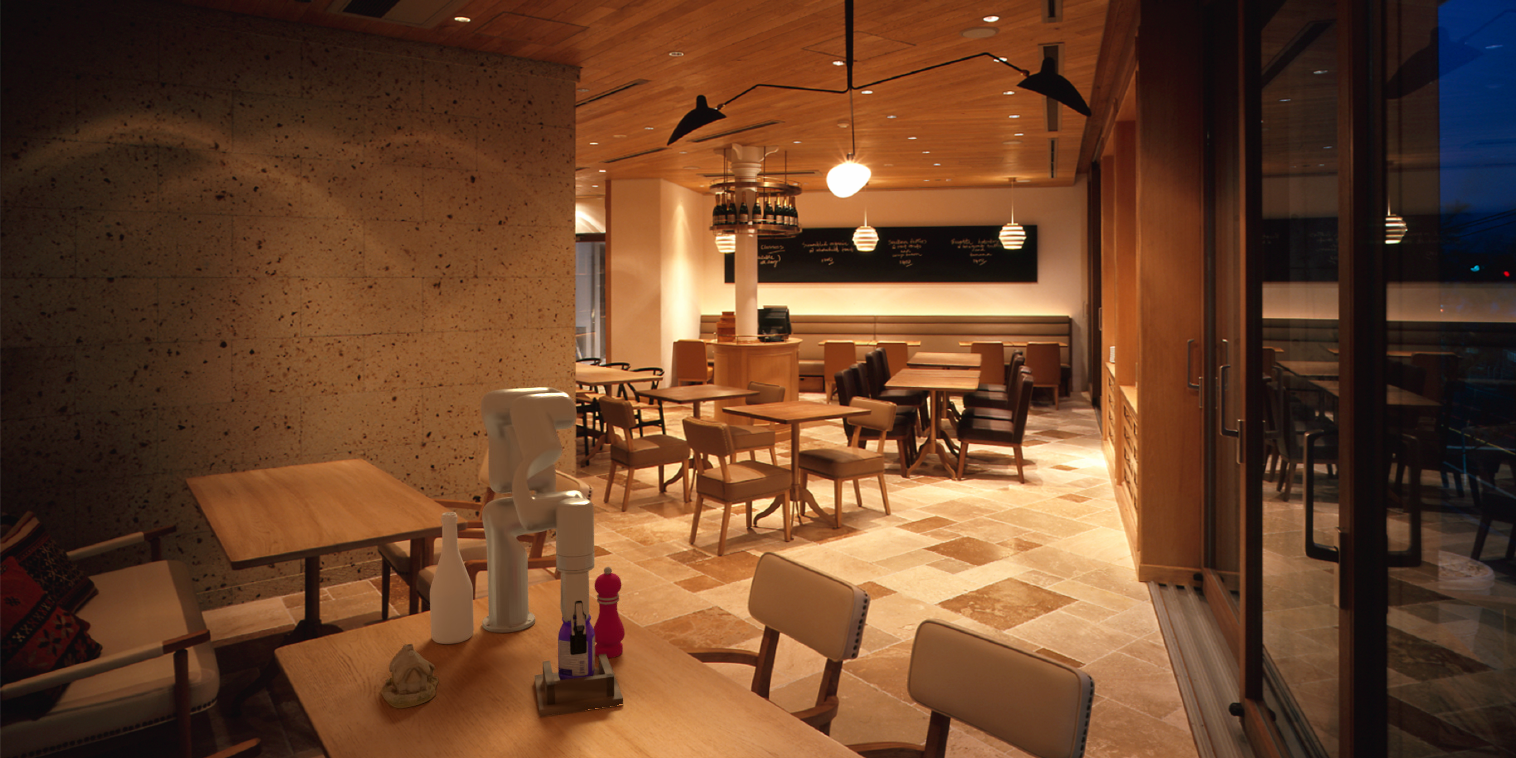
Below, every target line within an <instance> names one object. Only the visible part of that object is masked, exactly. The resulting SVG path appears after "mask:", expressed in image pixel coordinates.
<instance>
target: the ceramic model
mask: <svg viewBox="0 0 1516 758" xmlns="http://www.w3.org/2000/svg"><path fill="white" fill-rule="evenodd" d="M414 648H415V647H414V645H413V643H409V644H403V646H402V647H401V649H400V650H399V651H398V652H397V653H396V654H395V655H394V656H393V658H392V659H391V661H390V663H389V665H388V669H389V672H391V677H389V678H387V679H386V680H385V682H384V684H383V685H382V688H381V690H380V693H381V696H382V697H383V699H384V700H385V701H386V703H387V704H389V706H391V707H393V708H396V709H404V708H405V709H406V708H409V707H414V706H419V705H421V704H424V703H427V702H428V701H431V699H433V698H434V697H435V696H436V693H437V691H436V688H437V686H438V683H439V679H438V678H439V677H438V676H435V675H434V671H436V666H435V664H433V663H432V662H430V661H428V660H426V659H425V658H424V657H423V656H422V655H421V654H420V653H419V652H417V650H415V649H414Z"/></svg>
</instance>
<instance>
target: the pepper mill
mask: <svg viewBox="0 0 1516 758" xmlns="http://www.w3.org/2000/svg"><path fill="white" fill-rule="evenodd" d="M612 571H613V570H612V567H610V566H606V567H605V568H604V569H603V573H601V574H599V575H598V576H597V577H596V579H595V581H594V590H595V592H596V593H597V595H596V598H597V599H596V602H597V603H598V606H599V611H598V616H597V619H596V621H595V624H594V626H593V629H594V633H595V657H596V656H597V657H598V658H599V655H600V654H606V655H607V658H608V659H611V658H612V659H613V658H616V657H619V656H621V655H622V654H623V652H624V645H623V643H622V641H623V640H624V638H625V635H626V633H625V628H624V624H623V622H622V619H621V617H620V615H619V612H618V602H619V601H620V594H619V592H620V590H622V580H621V578H620V576H619V575H618V574H616V573H614V572H612Z"/></svg>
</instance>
